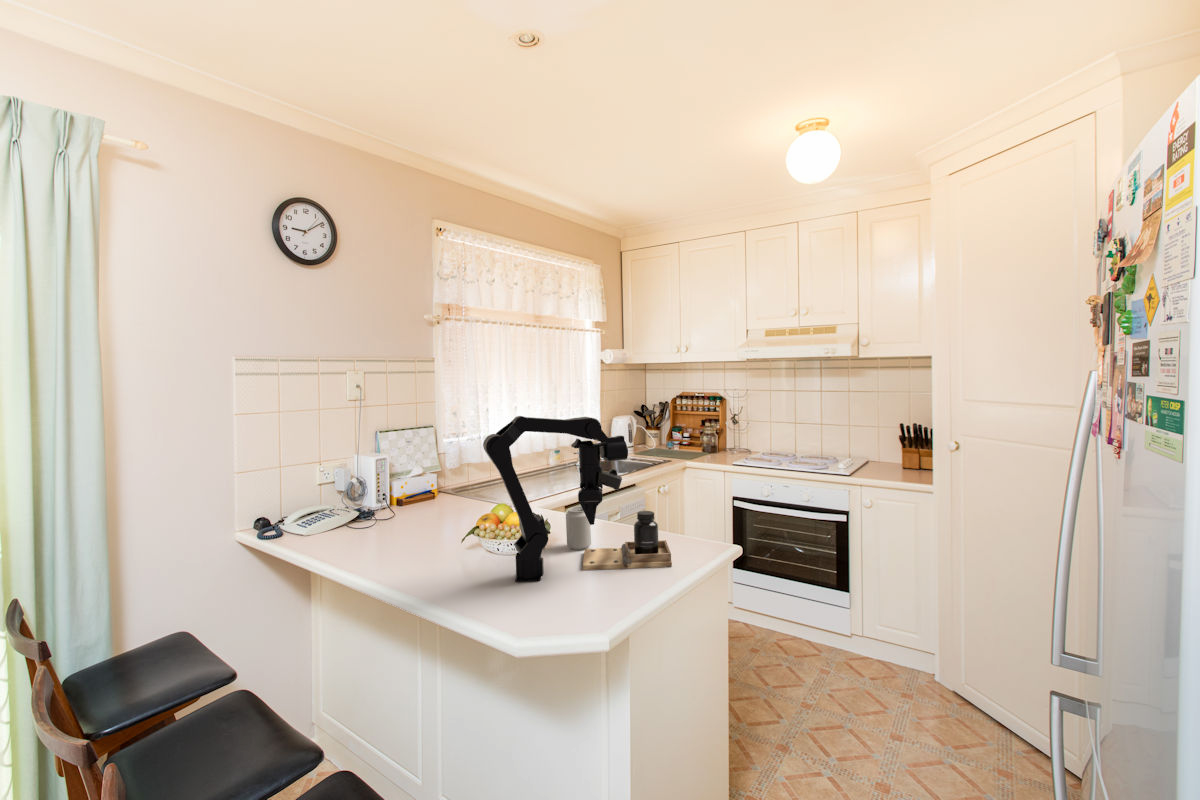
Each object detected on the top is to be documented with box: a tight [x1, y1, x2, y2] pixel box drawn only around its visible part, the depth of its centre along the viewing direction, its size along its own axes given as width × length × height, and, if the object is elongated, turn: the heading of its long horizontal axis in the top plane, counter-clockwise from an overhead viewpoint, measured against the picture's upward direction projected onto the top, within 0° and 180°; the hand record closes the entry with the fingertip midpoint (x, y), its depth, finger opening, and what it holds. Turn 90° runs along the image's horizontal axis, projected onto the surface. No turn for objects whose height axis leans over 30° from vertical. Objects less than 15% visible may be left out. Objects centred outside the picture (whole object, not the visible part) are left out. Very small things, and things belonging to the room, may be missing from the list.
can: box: [565, 506, 592, 551], centre depth 163 cm, size 8×8×12 cm
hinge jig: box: [582, 539, 673, 571], centre depth 150 cm, size 24×14×3 cm, turn 89°
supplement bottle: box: [633, 510, 659, 554], centre depth 150 cm, size 7×7×12 cm
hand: (592, 520), depth 145 cm, fingers open, 9 cm apart
